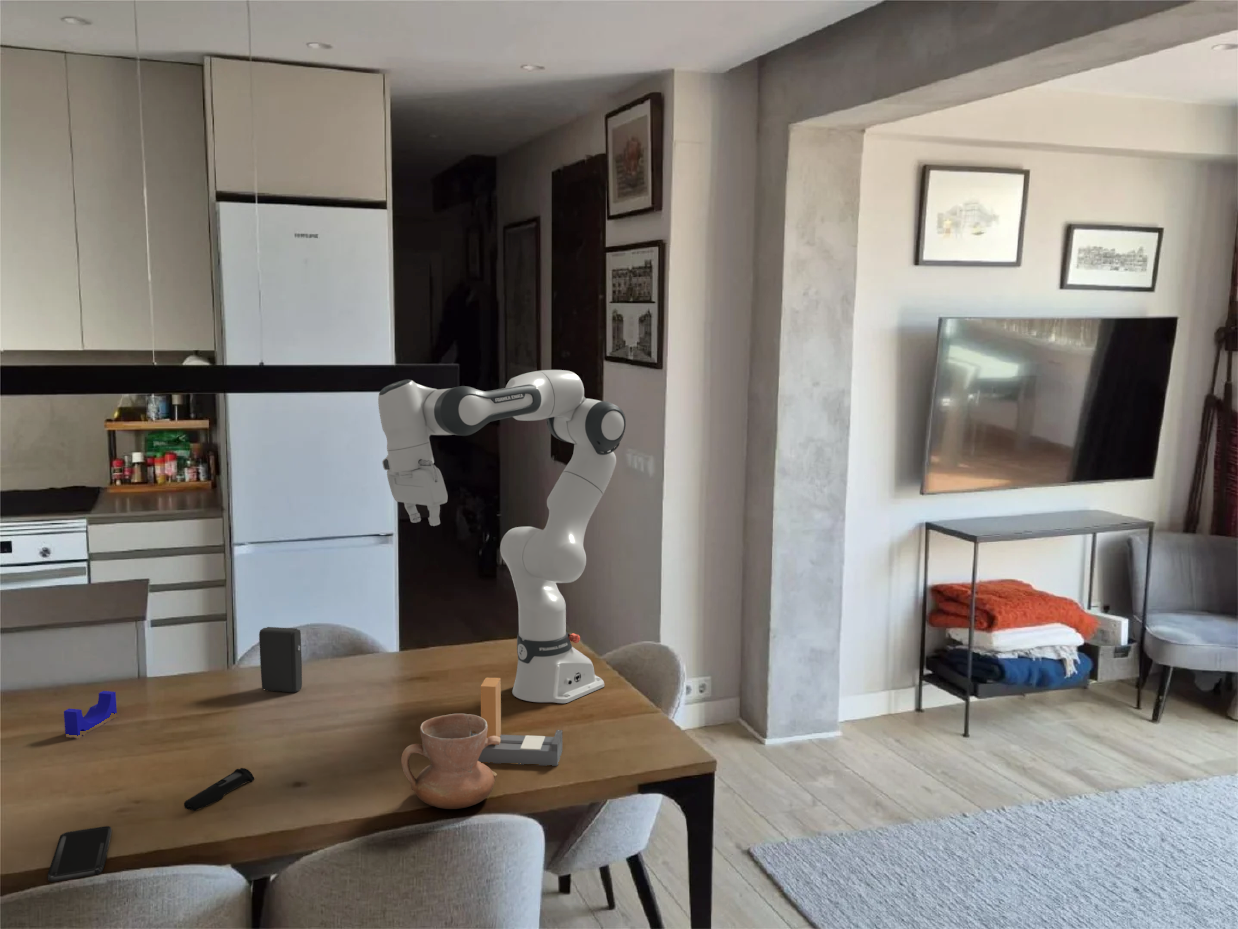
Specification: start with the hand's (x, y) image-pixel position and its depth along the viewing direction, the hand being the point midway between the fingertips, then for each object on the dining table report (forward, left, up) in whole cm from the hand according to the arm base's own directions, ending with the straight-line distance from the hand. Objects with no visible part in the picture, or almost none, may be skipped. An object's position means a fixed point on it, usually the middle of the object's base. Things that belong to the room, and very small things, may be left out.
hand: (425, 523), depth 211 cm
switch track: (-6, +23, -45) cm, 51 cm away
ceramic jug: (+13, +31, -45) cm, 56 cm away
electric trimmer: (+45, +3, -46) cm, 64 cm away
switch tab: (-3, +20, -42) cm, 46 cm away
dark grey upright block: (+15, -42, -45) cm, 64 cm away
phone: (+70, +10, -46) cm, 84 cm away
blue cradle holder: (+56, -47, -46) cm, 86 cm away
